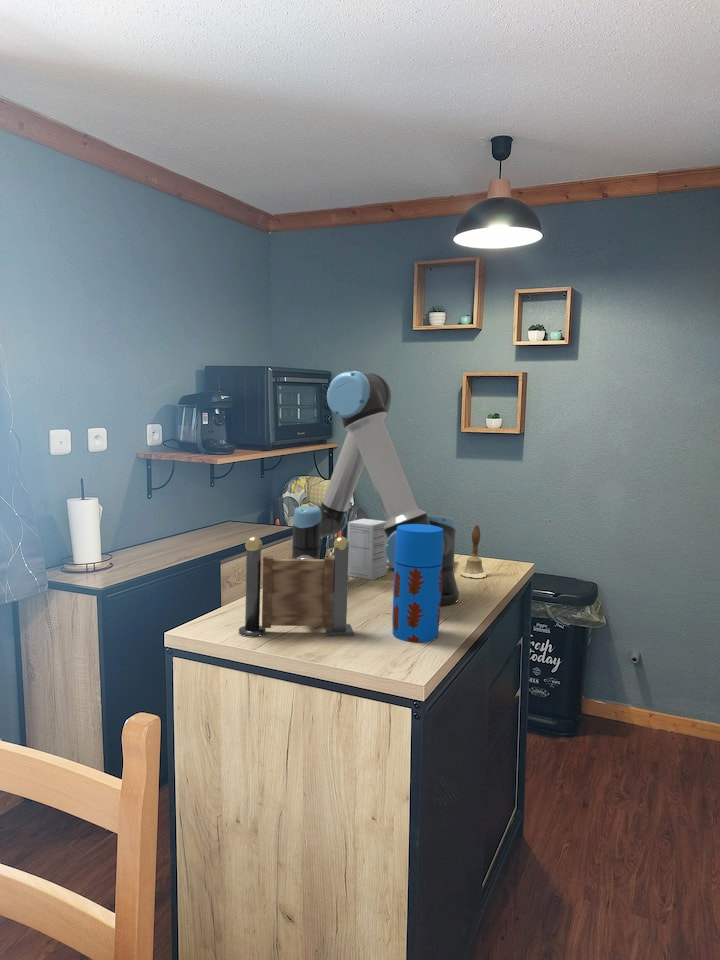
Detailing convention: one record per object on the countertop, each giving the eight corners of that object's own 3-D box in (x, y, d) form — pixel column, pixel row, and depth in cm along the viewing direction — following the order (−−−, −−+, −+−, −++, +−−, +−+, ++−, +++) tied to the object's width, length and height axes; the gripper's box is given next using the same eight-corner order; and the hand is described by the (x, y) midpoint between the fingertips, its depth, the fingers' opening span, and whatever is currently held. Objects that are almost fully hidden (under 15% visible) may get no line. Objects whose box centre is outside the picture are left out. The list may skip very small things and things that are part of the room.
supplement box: (387, 575, 222) (389, 521, 220) (372, 580, 214) (374, 525, 212) (361, 570, 227) (363, 517, 225) (345, 575, 219) (347, 521, 217)
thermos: (436, 644, 159) (441, 533, 156) (388, 640, 161) (392, 530, 158) (440, 629, 170) (445, 525, 167) (395, 625, 172) (400, 522, 169)
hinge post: (269, 629, 165) (271, 535, 163) (260, 638, 159) (262, 539, 157) (244, 627, 166) (246, 533, 164) (234, 635, 161) (236, 538, 158)
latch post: (327, 635, 162) (329, 539, 160) (324, 627, 168) (327, 534, 166) (353, 635, 163) (356, 539, 161) (350, 627, 169) (353, 534, 167)
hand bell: (467, 571, 230) (470, 522, 229) (491, 575, 226) (494, 525, 224) (455, 575, 224) (457, 525, 222) (479, 580, 219) (482, 528, 217)
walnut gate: (261, 627, 162) (263, 558, 160) (262, 624, 164) (263, 556, 162) (331, 628, 163) (333, 559, 161) (331, 625, 166) (333, 557, 164)
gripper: (329, 587, 188) (332, 614, 165) (279, 586, 187) (275, 613, 164) (330, 559, 187) (333, 583, 164) (280, 558, 187) (276, 581, 163)
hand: (304, 598), depth 164 cm, fingers closed
